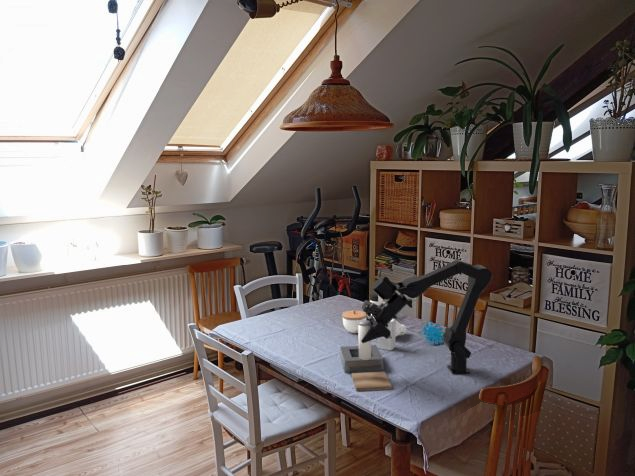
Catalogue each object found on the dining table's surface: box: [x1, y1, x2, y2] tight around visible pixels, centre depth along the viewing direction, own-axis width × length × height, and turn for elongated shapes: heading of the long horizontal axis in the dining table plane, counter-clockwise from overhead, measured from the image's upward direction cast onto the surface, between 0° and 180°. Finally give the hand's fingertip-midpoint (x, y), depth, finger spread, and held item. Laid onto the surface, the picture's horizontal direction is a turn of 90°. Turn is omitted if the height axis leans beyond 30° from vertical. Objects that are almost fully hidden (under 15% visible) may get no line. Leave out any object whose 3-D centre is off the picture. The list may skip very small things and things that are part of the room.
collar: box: [339, 344, 384, 374], centre depth 201 cm, size 14×14×4 cm
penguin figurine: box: [395, 320, 407, 338], centre depth 229 cm, size 6×8×12 cm
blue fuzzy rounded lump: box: [422, 321, 445, 346], centre depth 223 cm, size 11×6×10 cm
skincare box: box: [377, 318, 397, 351], centre depth 216 cm, size 6×4×12 cm
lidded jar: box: [341, 309, 368, 334], centre depth 237 cm, size 11×11×9 cm
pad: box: [351, 371, 393, 392], centre depth 186 cm, size 12×12×1 cm
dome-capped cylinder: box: [357, 320, 372, 360], centre depth 189 cm, size 4×4×13 cm
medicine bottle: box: [367, 291, 386, 317], centre depth 255 cm, size 7×7×12 cm
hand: (360, 339), depth 189 cm, fingers closed on dome-capped cylinder, 4 cm apart
